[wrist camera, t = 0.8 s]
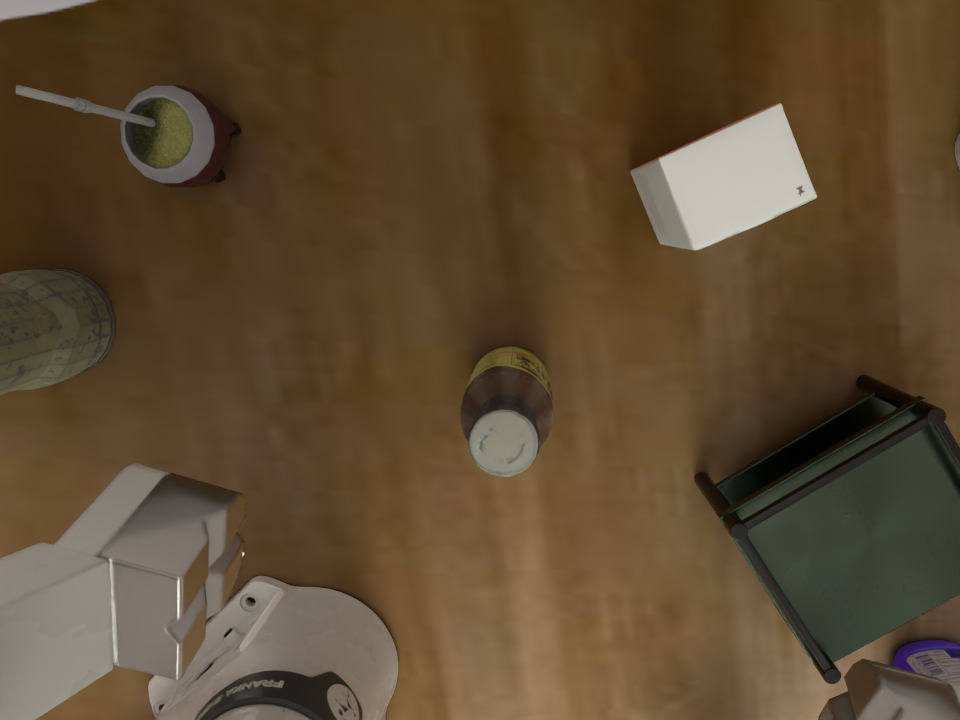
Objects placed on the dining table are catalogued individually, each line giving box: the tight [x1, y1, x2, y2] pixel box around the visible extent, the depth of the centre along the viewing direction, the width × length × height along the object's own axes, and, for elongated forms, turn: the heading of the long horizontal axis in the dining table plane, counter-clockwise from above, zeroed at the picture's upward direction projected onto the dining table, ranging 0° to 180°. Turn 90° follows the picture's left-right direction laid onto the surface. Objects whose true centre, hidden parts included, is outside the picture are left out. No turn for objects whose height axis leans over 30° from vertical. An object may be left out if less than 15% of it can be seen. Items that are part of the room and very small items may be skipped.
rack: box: [695, 375, 960, 684], centre depth 59 cm, size 16×14×11 cm
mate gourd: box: [16, 85, 241, 187], centre depth 54 cm, size 8×8×15 cm
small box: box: [630, 103, 817, 251], centre depth 54 cm, size 8×6×13 cm
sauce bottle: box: [461, 346, 554, 477], centre depth 54 cm, size 6×6×20 cm
